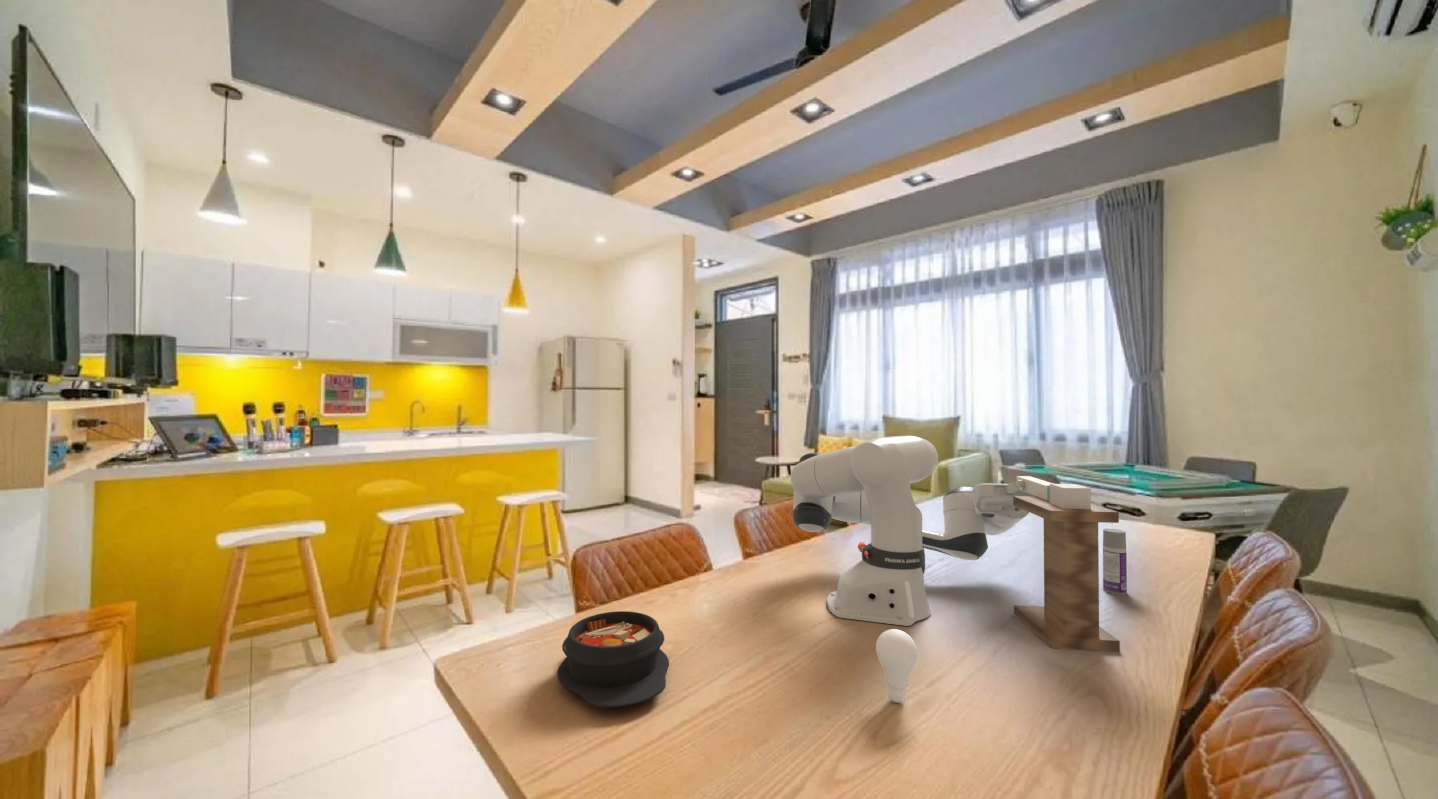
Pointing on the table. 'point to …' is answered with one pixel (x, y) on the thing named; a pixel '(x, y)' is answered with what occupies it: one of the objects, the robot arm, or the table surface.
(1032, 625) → the wooden i-beam block
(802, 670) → the table surface
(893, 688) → the lightbulb
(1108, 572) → the container
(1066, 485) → the bar
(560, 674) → the casserole
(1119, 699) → the table surface
